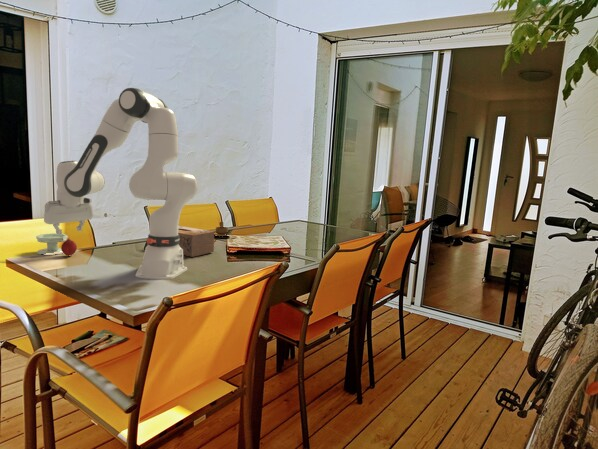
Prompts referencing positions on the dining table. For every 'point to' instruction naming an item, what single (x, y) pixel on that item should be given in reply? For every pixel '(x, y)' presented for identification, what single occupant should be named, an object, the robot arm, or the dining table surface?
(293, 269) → the dining table surface
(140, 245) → the dining table surface
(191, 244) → the tissue box cover
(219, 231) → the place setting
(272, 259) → the dining table surface
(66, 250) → the onion
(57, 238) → the stand
